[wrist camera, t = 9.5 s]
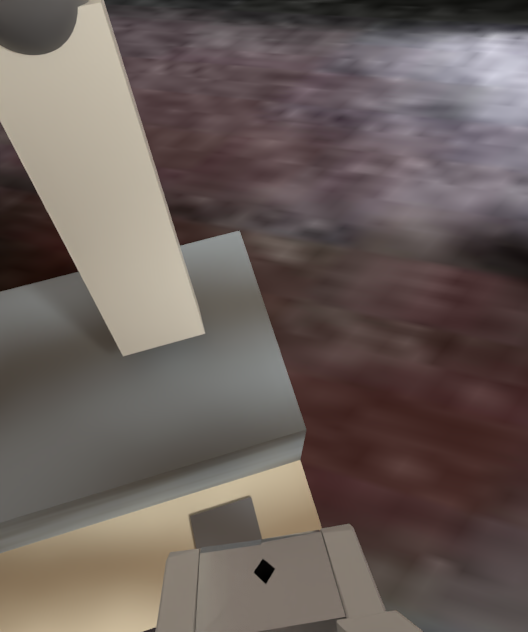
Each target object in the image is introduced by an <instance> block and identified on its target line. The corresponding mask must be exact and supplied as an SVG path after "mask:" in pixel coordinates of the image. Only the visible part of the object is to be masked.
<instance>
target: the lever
mask: <svg viewBox="0 0 528 632" xmlns="http://www.w3.org/2000/svg"><path fill="white" fill-rule="evenodd" d="M0 122H1V124H2V125H3V127H4V129H5V131H6V133H7V135H8V137H9V139H10V141H11V143H12V145H13V147H14V148H15V150H16V152H17V154H18V156H19V158H20V160H21V162H22V164H23V166H24V168H25V170H26V171H27V173H28V175H29V177H30V179H31V181H32V183H33V185H34V187H35V189H36V191H37V192H38V194H39V196H40V198H41V200H42V202H43V204H44V206H45V208H46V210H47V212H48V214H49V215H50V217H51V219H52V221H53V223H54V225H55V227H56V229H57V231H58V233H59V235H60V237H61V238H62V240H63V242H64V244H65V246H66V248H67V250H68V252H69V254H70V256H71V258H72V260H73V261H74V263H75V265H76V267H77V269H78V271H79V273H80V275H81V277H82V279H83V281H84V283H85V284H86V286H87V288H88V290H89V292H90V294H91V296H92V298H93V300H94V302H95V304H96V306H97V307H98V309H99V311H100V313H101V315H102V317H103V319H104V321H105V323H106V325H107V327H108V329H109V330H110V332H111V334H112V336H113V338H114V340H115V342H116V344H117V346H118V348H119V350H120V352H121V353H122V355H123V356H126V355H130V354H133V353H137V352H141V351H144V350H148V349H152V348H155V347H159V346H162V345H166V344H170V343H173V342H177V341H180V340H184V339H188V338H191V337H195V336H199V335H202V334H205V330H204V326H203V322H202V318H201V313H200V309H199V306H198V303H197V299H196V296H195V293H194V290H193V287H192V283H191V280H190V277H189V274H188V270H187V267H186V264H185V261H184V258H183V254H182V251H181V248H180V245H179V241H178V238H177V235H176V232H175V229H174V225H173V222H172V219H171V216H170V213H169V209H168V206H167V203H166V200H165V196H164V193H163V190H162V187H161V184H160V180H159V177H158V174H157V171H156V167H155V164H154V161H153V158H152V155H151V151H150V148H149V145H148V142H147V138H146V135H145V132H144V129H143V126H142V122H141V119H140V116H139V113H138V109H137V106H136V103H135V100H134V97H133V93H132V90H131V87H130V84H129V81H128V77H127V74H126V71H125V68H124V64H123V61H122V58H121V55H120V52H119V48H118V45H117V42H116V39H115V35H114V32H113V29H112V26H111V23H110V19H109V16H108V13H107V10H106V6H105V3H104V0H0Z"/></svg>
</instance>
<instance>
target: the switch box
mask: <svg viewBox="0 0 528 632" xmlns="http://www.w3.org/2000/svg"><path fill="white" fill-rule="evenodd" d="M180 248H181V251H182V254H183V258H184V261H185V264H186V267H187V270H188V274H189V277H190V280H191V283H192V287H193V290H194V293H195V296H196V299H197V303H198V306H199V309H200V313H201V318H202V322H203V326H204V330H205V334H202V335H199V336H195V337H191V338H188V339H184V340H180V341H177V342H173V343H170V344H166V345H162V346H159V347H155V348H152V349H148V350H144V351H141V352H137V353H133V354H130V355H126V356H123V355H122V353H121V352H120V350H119V348H118V346H117V344H116V342H115V340H114V338H113V336H112V334H111V332H110V330H109V329H108V327H107V325H106V323H105V321H104V319H103V317H102V315H101V313H100V311H99V309H98V307H97V306H96V304H95V302H94V300H93V298H92V296H91V294H90V292H89V290H88V288H87V286H86V284H85V283H84V281H83V279H82V277H81V275H80V273H79V272H76V273H72V274H68V275H64V276H60V277H56V278H52V279H48V280H45V281H41V282H37V283H33V284H29V285H25V286H21V287H17V288H13V289H9V290H5V291H1V292H0V632H143V631H146V630H149V629H152V628H154V627H156V625H157V619H158V612H159V605H160V598H161V592H162V585H163V578H164V572H165V565H166V560H167V558H168V556H169V553H170V552H176V551H184V550H191V549H201V547H208V546H216V545H223V544H231V543H238V542H246V541H253V540H261V539H266V538H271V537H277V536H283V535H289V534H295V533H301V532H307V531H313V530H320V529H322V527H321V524H320V521H319V518H318V514H317V511H316V508H315V505H314V502H313V499H312V496H311V493H310V489H309V486H308V483H307V480H306V477H305V474H304V471H303V467H302V464H301V461H300V458H301V453H302V448H303V443H304V438H305V433H306V427H305V424H304V421H303V418H302V415H301V412H300V409H299V406H298V403H297V400H296V397H295V394H294V391H293V388H292V385H291V382H290V380H289V377H288V374H287V371H286V368H285V365H284V362H283V359H282V356H281V353H280V350H279V347H278V344H277V341H276V338H275V335H274V332H273V329H272V326H271V323H270V320H269V317H268V314H267V311H266V308H265V305H264V302H263V299H262V296H261V293H260V290H259V287H258V284H257V281H256V278H255V275H254V272H253V269H252V266H251V263H250V260H249V257H248V254H247V251H246V248H245V245H244V242H243V240H242V237H241V234H240V231H237V232H233V233H229V234H225V235H221V236H217V237H213V238H209V239H205V240H201V241H197V242H193V243H190V244H186V245H182V246H180Z"/></svg>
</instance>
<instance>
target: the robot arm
mask: <svg viewBox="0 0 528 632" xmlns="http://www.w3.org/2000/svg"><path fill="white" fill-rule="evenodd" d="M156 632H423V631H422V630H421V629H419V628H418V627H417V626H416V625H414V624H413V623H412V622H411V621H409V620H408V619H407V618H406V617H404V616H403V615H402V614H400V613H399V612H398V611H397V610H395V611H387V612H386V610H385V607H384V604H383V602H382V599H381V597H380V594H379V592H378V589H377V587H376V584H375V582H374V579H373V577H372V574H371V571H370V569H369V566H368V564H367V561H366V559H365V556H364V554H363V551H362V549H361V546H360V544H359V541H358V538H357V536H356V533H355V531H354V528H353V527H352V526H351V525H350V524H345V525H339V526H334V527H328V528H322V529H320V530H313V531H307V532H301V533H295V534H289V535H283V536H277V537H271V538H266V539H261V540H253V541H246V542H238V543H231V544H223V545H216V546H208V547H201V549H191V550H184V551H176V552H170V553H169V556H168V558H167V560H166V565H165V572H164V578H163V585H162V592H161V598H160V605H159V612H158V619H157V625H156Z"/></svg>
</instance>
